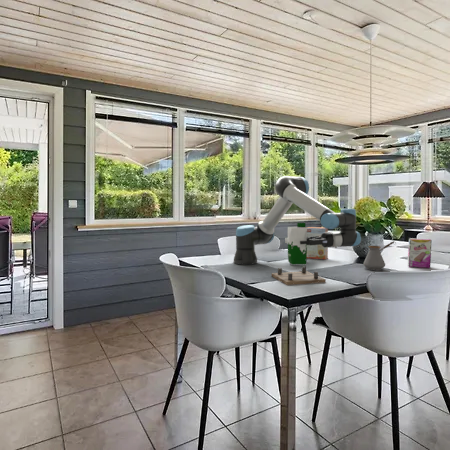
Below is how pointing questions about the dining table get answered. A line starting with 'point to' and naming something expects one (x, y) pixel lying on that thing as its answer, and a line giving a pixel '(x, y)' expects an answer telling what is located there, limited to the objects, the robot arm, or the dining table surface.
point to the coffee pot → (375, 258)
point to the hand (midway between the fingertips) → (289, 241)
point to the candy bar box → (419, 253)
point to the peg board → (298, 277)
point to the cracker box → (316, 250)
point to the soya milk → (297, 252)
